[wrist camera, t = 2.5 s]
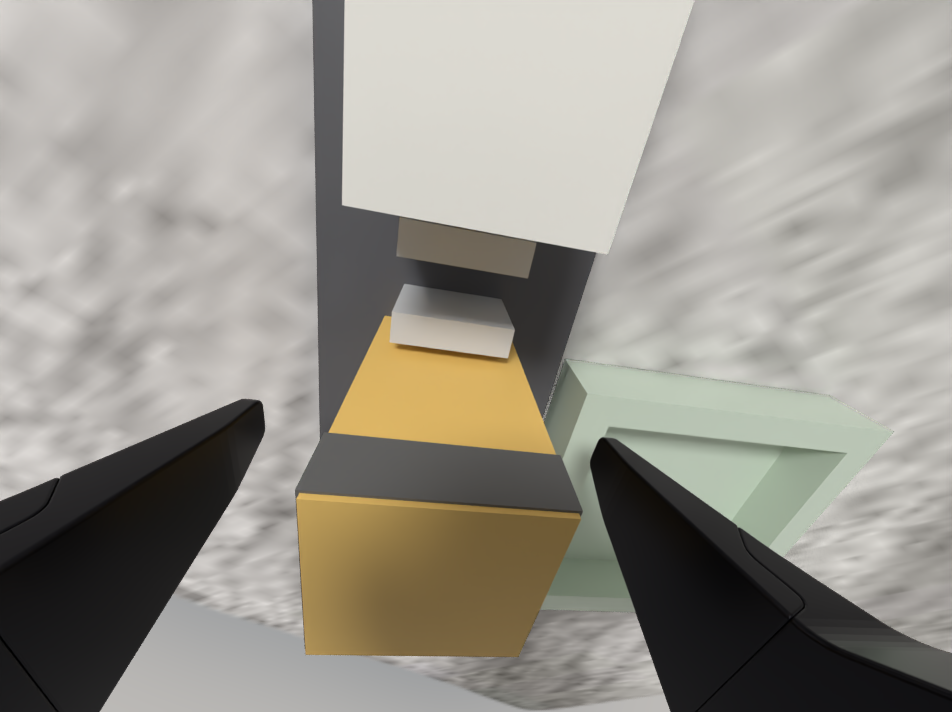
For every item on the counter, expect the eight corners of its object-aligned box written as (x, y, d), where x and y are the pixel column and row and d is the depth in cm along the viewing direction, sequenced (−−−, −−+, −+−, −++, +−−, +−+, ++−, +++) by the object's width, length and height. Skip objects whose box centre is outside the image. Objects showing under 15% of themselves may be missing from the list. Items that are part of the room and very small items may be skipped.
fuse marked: (511, 332, 11) (585, 516, 5) (486, 431, 13) (519, 658, 7) (383, 313, 11) (292, 495, 5) (376, 419, 13) (303, 655, 6)
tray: (829, 395, 15) (894, 431, 13) (701, 568, 21) (731, 615, 19) (565, 358, 14) (587, 393, 11) (499, 558, 19) (505, 608, 17)
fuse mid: (580, 41, 8) (738, -127, 4) (536, 221, 10) (607, 254, 5) (407, -6, 8) (348, -271, 3) (393, 193, 9) (341, 204, 5)
